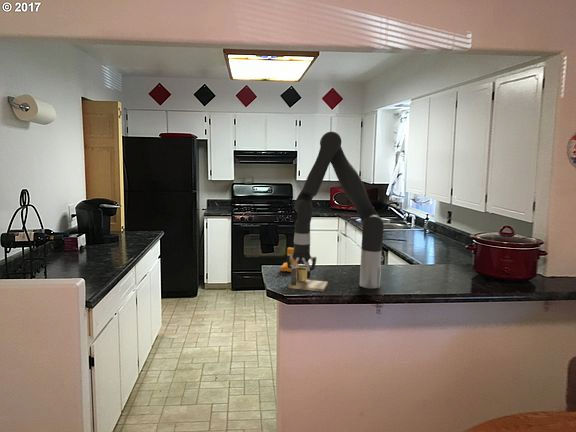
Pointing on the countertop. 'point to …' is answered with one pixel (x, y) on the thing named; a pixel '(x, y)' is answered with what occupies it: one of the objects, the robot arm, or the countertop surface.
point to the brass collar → (301, 273)
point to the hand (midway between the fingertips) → (300, 277)
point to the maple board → (306, 283)
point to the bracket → (285, 266)
